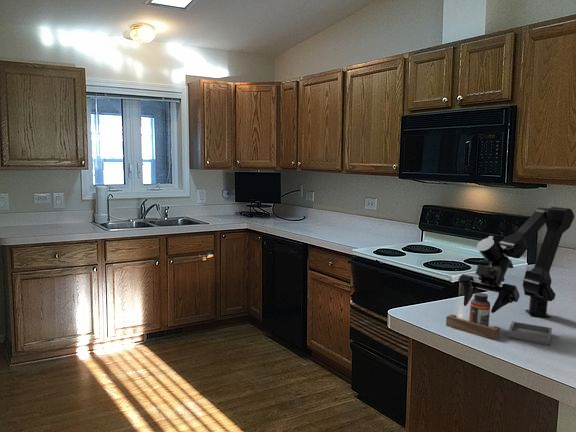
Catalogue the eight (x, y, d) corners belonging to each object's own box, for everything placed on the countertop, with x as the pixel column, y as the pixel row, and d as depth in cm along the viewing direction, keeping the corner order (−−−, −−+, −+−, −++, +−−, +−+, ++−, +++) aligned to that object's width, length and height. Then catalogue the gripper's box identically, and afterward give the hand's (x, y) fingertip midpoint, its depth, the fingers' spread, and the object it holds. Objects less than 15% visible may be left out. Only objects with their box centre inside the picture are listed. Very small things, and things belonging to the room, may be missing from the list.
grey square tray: (511, 327, 164) (512, 321, 164) (551, 334, 159) (551, 327, 159) (507, 337, 154) (508, 331, 154) (549, 345, 149) (550, 339, 149)
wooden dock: (451, 323, 167) (452, 314, 166) (499, 337, 155) (500, 327, 154) (445, 325, 164) (446, 316, 164) (494, 339, 152) (494, 330, 152)
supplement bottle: (465, 325, 165) (468, 291, 164) (483, 325, 166) (485, 291, 164) (473, 331, 159) (476, 296, 158) (491, 331, 160) (494, 296, 158)
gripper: (463, 250, 169) (443, 288, 163) (519, 260, 155) (500, 301, 149) (472, 270, 175) (454, 307, 169) (527, 281, 162) (509, 321, 156)
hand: (477, 308), depth 161 cm, fingers open, 9 cm apart
